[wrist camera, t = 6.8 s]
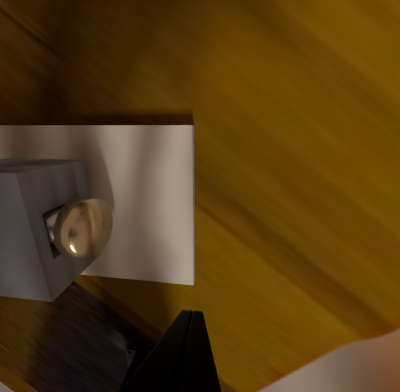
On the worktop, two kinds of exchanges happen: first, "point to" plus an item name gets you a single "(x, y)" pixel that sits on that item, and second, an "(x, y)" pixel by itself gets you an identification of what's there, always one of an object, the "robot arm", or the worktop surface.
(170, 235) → the bearing block
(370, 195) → the worktop surface
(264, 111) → the worktop surface
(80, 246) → the shaft
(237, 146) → the worktop surface
